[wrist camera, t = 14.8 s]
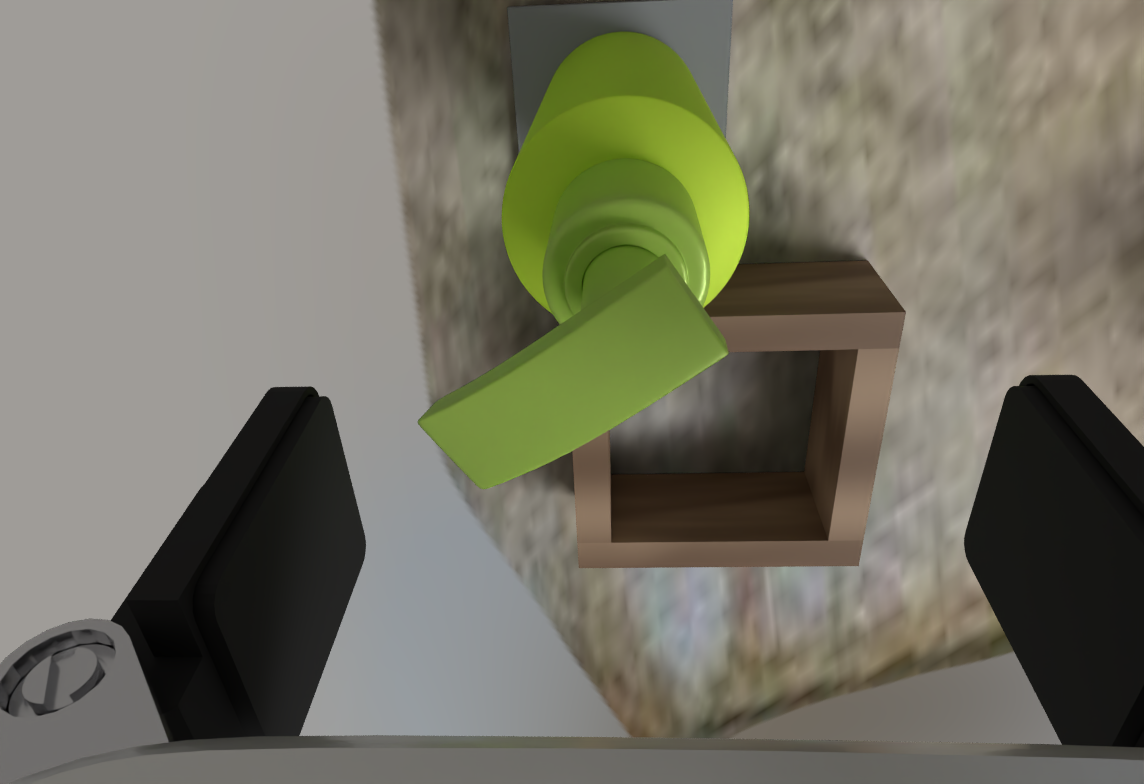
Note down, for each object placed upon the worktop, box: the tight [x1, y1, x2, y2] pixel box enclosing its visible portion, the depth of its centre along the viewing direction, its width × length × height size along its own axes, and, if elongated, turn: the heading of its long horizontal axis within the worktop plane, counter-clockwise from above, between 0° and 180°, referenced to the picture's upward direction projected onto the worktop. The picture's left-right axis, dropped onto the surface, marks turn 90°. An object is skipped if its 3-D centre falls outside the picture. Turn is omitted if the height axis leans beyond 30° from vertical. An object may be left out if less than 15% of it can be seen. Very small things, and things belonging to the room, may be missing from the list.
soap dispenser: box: [418, 32, 749, 489], centre depth 22 cm, size 6×7×20 cm
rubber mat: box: [507, 0, 733, 152], centre depth 31 cm, size 9×8×1 cm
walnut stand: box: [572, 261, 906, 568], centre depth 35 cm, size 12×12×5 cm
